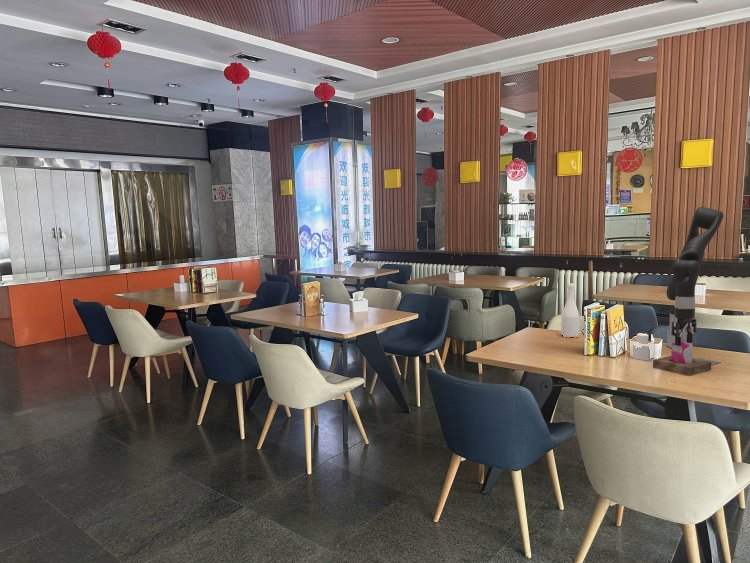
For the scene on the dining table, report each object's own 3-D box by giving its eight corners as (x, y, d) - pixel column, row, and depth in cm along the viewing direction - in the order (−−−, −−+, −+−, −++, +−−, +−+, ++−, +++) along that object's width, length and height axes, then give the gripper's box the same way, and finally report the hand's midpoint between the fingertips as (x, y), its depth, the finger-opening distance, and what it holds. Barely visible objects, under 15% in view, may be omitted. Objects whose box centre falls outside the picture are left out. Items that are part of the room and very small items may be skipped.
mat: (685, 361, 243) (685, 360, 243) (698, 358, 248) (698, 357, 248) (708, 366, 234) (708, 365, 234) (720, 363, 239) (720, 362, 239)
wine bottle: (562, 338, 297) (563, 284, 294) (559, 334, 306) (560, 282, 303) (580, 338, 296) (581, 284, 292) (577, 334, 305) (578, 282, 302)
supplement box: (680, 366, 235) (681, 340, 234) (692, 369, 230) (693, 343, 229) (670, 367, 234) (671, 342, 232) (682, 371, 228) (683, 344, 227)
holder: (652, 367, 235) (653, 359, 234) (674, 362, 242) (674, 354, 242) (689, 376, 221) (689, 367, 220) (711, 370, 229) (711, 362, 228)
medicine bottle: (638, 355, 256) (638, 331, 254) (654, 358, 250) (654, 333, 249) (632, 358, 251) (633, 333, 249) (648, 361, 246) (649, 335, 244)
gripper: (685, 304, 235) (684, 340, 237) (666, 307, 228) (665, 344, 230) (703, 306, 229) (702, 343, 230) (683, 309, 222) (682, 347, 223)
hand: (683, 344), depth 230 cm, fingers open, 8 cm apart
